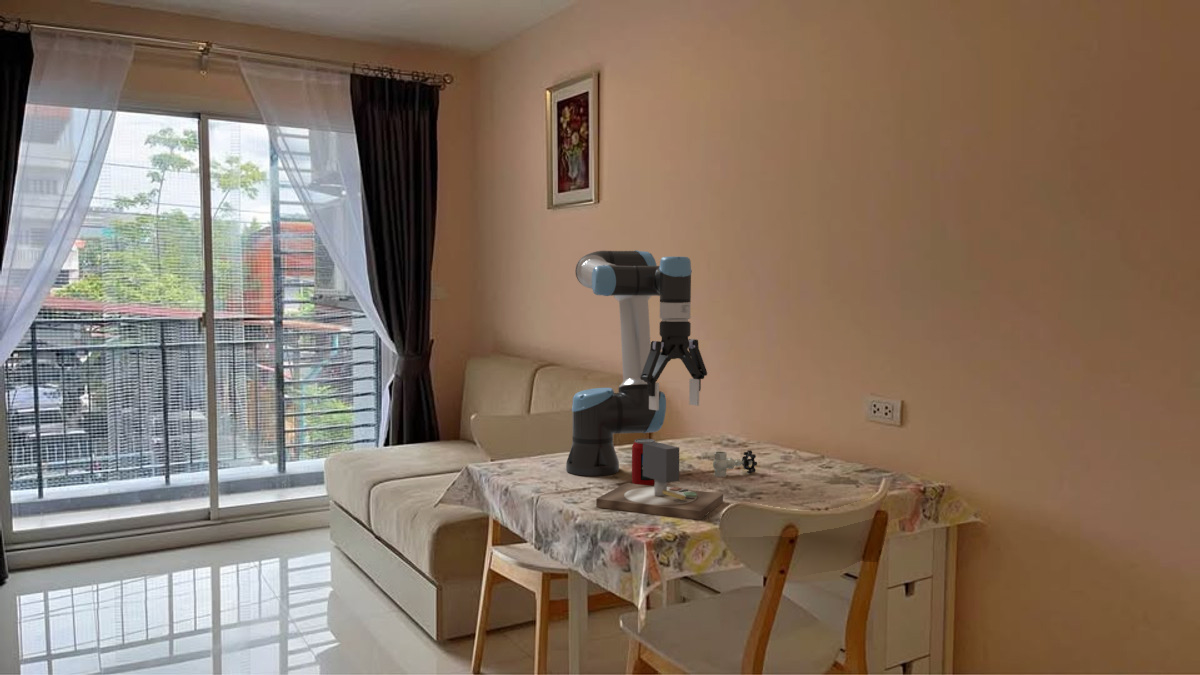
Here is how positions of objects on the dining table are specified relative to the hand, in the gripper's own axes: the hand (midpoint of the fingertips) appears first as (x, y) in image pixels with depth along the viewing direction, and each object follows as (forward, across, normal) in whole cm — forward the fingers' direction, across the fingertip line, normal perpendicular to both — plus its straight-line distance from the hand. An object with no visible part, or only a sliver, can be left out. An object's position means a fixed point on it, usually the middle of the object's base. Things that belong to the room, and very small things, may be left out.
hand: (674, 407), depth 209 cm
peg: (+21, -4, -2) cm, 21 cm away
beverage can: (+23, +6, +18) cm, 30 cm away
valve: (+24, +34, +12) cm, 43 cm away
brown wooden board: (+23, -4, 0) cm, 24 cm away
